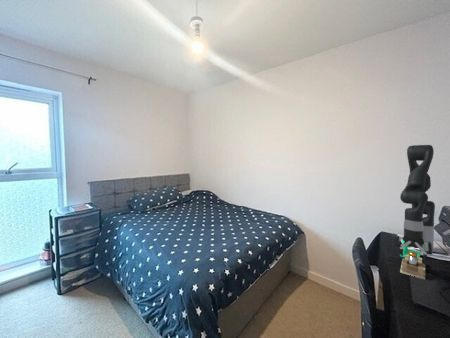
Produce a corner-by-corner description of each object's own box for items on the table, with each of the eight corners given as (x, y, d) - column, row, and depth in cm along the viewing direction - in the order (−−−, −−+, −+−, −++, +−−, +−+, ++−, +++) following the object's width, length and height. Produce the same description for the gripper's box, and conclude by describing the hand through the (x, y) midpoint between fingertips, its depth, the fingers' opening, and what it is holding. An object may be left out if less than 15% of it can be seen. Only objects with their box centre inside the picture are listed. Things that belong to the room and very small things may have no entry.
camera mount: (417, 262, 119) (417, 245, 118) (400, 258, 125) (400, 241, 124) (420, 256, 126) (421, 240, 126) (404, 252, 132) (404, 236, 132)
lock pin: (408, 268, 110) (408, 250, 110) (417, 270, 108) (417, 252, 107) (408, 271, 108) (408, 252, 107) (416, 273, 105) (417, 254, 105)
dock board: (402, 260, 121) (402, 252, 121) (425, 265, 115) (425, 257, 114) (400, 272, 108) (400, 263, 108) (425, 279, 102) (425, 270, 101)
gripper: (432, 229, 105) (431, 260, 105) (396, 223, 115) (396, 251, 115) (432, 233, 99) (432, 265, 100) (395, 227, 109) (394, 256, 110)
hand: (412, 258), depth 108 cm, fingers open, 8 cm apart
